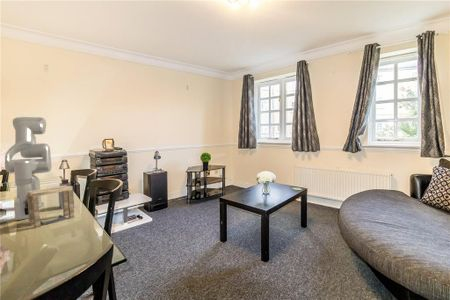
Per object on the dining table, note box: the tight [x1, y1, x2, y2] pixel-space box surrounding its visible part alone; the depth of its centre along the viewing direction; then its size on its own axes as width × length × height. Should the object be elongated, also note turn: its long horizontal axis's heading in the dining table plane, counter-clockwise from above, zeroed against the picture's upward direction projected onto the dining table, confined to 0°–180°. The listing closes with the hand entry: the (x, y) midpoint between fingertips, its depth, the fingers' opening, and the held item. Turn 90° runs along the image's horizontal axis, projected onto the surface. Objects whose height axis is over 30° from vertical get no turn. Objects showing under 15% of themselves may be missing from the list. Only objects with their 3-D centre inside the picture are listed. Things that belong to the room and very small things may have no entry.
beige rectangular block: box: [57, 178, 75, 210], centre depth 157 cm, size 7×7×18 cm
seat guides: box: [40, 214, 67, 226], centre depth 131 cm, size 8×11×2 cm
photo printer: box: [13, 198, 29, 221], centre depth 136 cm, size 10×4×12 cm, turn 124°
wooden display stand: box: [27, 185, 75, 229], centre depth 130 cm, size 9×18×18 cm, turn 145°
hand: (26, 213), depth 137 cm, fingers closed on photo printer, 5 cm apart
